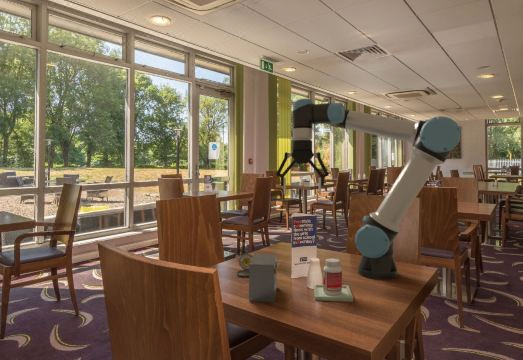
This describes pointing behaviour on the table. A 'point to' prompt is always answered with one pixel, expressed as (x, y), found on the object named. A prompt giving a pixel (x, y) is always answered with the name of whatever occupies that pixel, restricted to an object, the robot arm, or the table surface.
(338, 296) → the pad
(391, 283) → the table surface
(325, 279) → the pill bottle
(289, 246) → the table surface
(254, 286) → the block
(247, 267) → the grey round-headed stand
